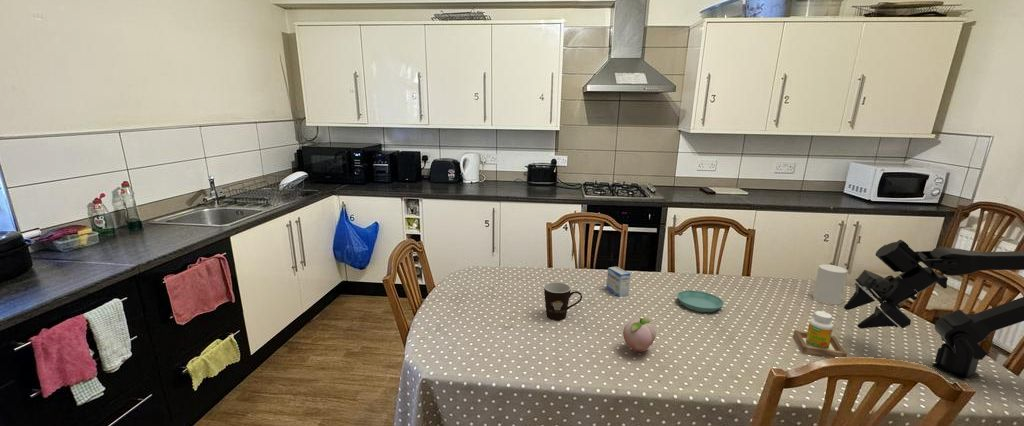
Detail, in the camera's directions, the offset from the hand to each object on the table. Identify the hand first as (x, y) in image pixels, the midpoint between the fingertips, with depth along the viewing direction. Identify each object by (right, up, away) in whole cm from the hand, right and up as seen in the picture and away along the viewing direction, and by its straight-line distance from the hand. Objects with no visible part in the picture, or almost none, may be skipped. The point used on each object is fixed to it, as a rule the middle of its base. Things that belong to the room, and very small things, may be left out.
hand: (851, 317), depth 117 cm
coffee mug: (-79, -5, +19) cm, 81 cm away
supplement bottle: (-8, -9, +3) cm, 12 cm away
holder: (-7, -9, +3) cm, 12 cm away
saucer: (-30, -3, +29) cm, 41 cm away
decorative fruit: (-60, -9, 0) cm, 60 cm away
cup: (+19, -2, +35) cm, 39 cm away
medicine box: (-55, 0, +39) cm, 68 cm away
